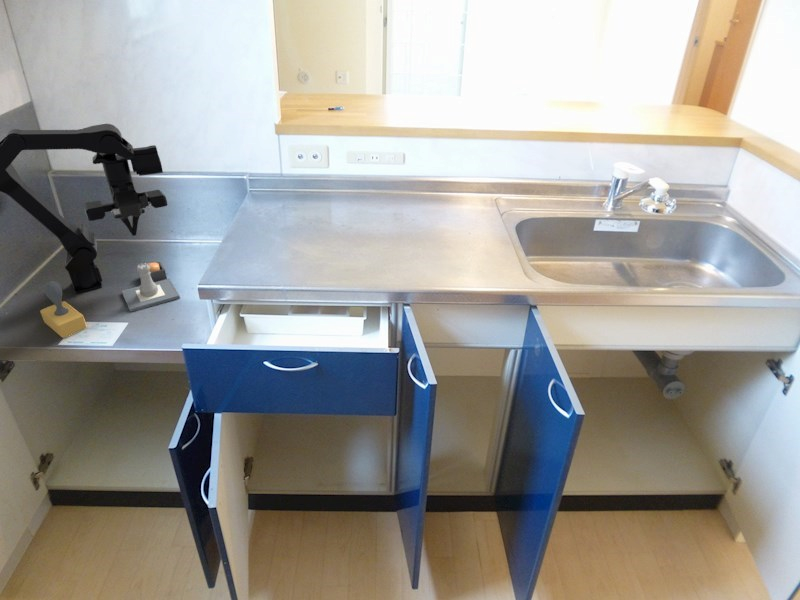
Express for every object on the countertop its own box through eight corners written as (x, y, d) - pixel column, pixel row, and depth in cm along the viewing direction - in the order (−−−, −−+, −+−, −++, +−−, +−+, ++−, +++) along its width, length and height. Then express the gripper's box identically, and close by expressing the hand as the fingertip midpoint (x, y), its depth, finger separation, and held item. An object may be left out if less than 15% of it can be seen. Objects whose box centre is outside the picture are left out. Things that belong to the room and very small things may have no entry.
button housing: (146, 284, 150) (144, 274, 148) (142, 275, 153) (139, 266, 152) (167, 279, 152) (164, 269, 150) (162, 271, 156) (159, 261, 154)
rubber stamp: (88, 328, 133) (73, 284, 126) (62, 339, 129) (45, 294, 122) (69, 312, 138) (53, 270, 132) (44, 322, 134) (27, 279, 128)
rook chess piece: (140, 298, 142) (133, 271, 138) (139, 290, 145) (132, 263, 141) (159, 295, 144) (152, 267, 139) (158, 286, 147) (151, 259, 143)
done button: (148, 278, 150) (146, 270, 148) (145, 272, 152) (143, 264, 151) (162, 274, 151) (160, 266, 150) (159, 269, 154) (157, 261, 153)
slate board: (130, 311, 139) (129, 308, 138) (122, 293, 146) (121, 290, 145) (180, 298, 144) (179, 295, 144) (169, 281, 151) (169, 278, 151)
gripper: (82, 196, 129) (100, 256, 137) (166, 181, 138) (178, 238, 146) (75, 181, 137) (93, 238, 145) (155, 167, 145) (167, 223, 154)
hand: (134, 235), depth 147 cm, fingers closed
